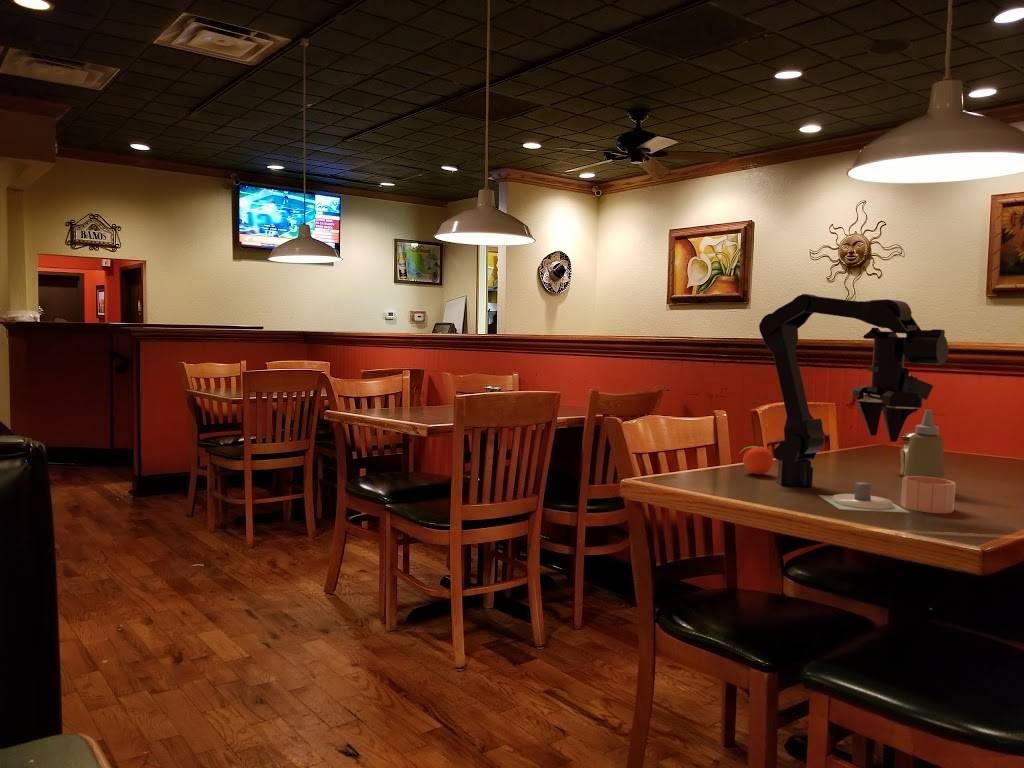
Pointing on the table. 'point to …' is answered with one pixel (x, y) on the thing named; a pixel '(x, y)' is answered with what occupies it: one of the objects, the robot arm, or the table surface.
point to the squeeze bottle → (925, 450)
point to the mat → (842, 507)
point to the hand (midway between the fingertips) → (882, 438)
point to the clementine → (757, 460)
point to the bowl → (928, 494)
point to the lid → (863, 498)
